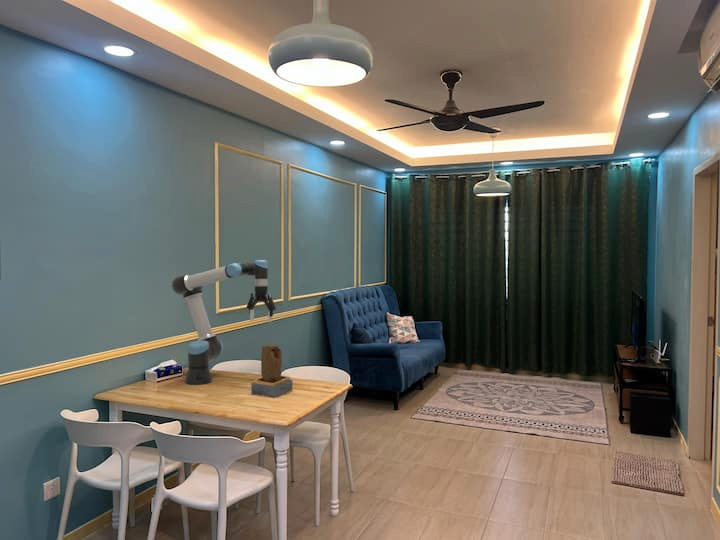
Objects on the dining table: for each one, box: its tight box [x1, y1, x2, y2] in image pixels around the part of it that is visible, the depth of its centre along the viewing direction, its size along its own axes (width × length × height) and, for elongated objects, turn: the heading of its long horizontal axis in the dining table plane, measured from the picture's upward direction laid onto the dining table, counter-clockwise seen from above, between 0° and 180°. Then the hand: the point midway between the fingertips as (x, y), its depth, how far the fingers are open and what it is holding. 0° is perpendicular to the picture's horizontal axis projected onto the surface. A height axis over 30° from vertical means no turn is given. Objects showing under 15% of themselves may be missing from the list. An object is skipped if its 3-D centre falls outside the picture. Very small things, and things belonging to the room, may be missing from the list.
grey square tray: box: [250, 375, 293, 398], centre depth 293 cm, size 16×16×8 cm
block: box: [260, 344, 283, 383], centre depth 293 cm, size 11×8×20 cm
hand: (260, 321), depth 319 cm, fingers open, 13 cm apart
